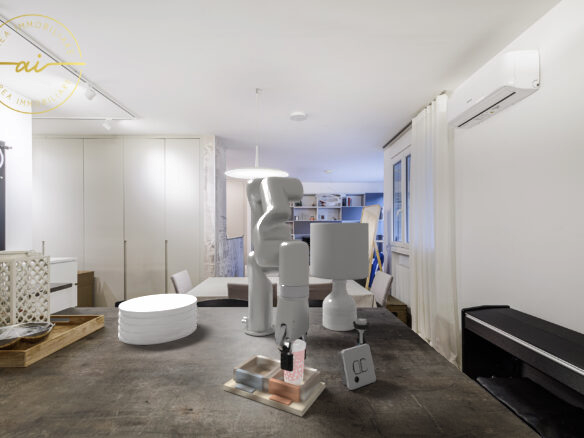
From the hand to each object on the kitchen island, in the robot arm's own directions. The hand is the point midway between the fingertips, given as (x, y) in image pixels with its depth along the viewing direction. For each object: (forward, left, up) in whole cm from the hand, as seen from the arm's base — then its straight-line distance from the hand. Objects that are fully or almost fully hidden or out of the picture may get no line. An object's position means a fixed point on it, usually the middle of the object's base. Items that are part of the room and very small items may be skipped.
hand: (293, 363), depth 73 cm
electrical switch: (+12, +12, -7) cm, 18 cm away
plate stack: (-67, +13, -7) cm, 68 cm away
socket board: (-5, -1, -7) cm, 8 cm away
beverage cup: (0, 0, -4) cm, 4 cm away
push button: (+8, +32, -7) cm, 34 cm away
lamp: (-7, +53, -7) cm, 54 cm away
